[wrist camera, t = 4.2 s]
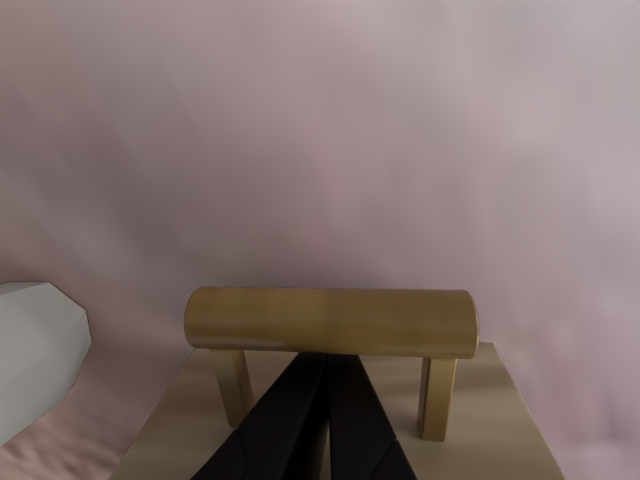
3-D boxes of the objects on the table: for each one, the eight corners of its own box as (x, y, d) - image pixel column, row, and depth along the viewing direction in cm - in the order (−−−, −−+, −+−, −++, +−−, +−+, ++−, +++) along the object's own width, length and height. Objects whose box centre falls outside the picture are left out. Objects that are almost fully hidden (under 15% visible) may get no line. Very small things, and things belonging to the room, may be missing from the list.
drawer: (179, 234, 10) (25, 349, 6) (516, 230, 9) (690, 379, 4) (247, 493, 16) (199, 657, 12) (457, 514, 15) (502, 712, 10)
